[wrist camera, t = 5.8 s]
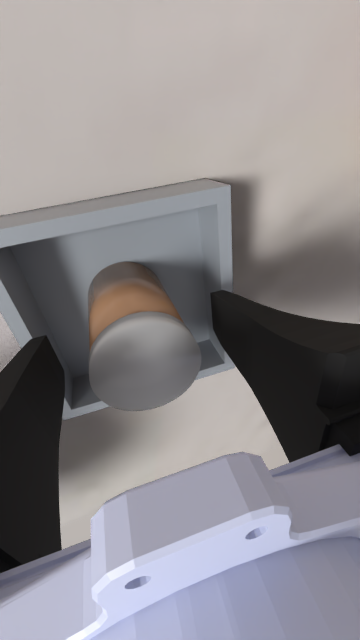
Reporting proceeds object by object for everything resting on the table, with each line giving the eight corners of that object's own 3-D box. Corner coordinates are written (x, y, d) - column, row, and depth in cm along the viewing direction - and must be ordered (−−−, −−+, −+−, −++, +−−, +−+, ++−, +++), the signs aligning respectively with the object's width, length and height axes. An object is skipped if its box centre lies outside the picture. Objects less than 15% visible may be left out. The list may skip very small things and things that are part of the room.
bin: (215, 339, 19) (234, 367, 16) (67, 381, 17) (63, 420, 15) (204, 178, 13) (230, 185, 11) (-17, 218, 12) (-44, 237, 9)
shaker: (168, 319, 16) (204, 392, 12) (98, 336, 16) (106, 423, 11) (157, 253, 14) (197, 310, 9) (75, 270, 13) (72, 342, 8)
